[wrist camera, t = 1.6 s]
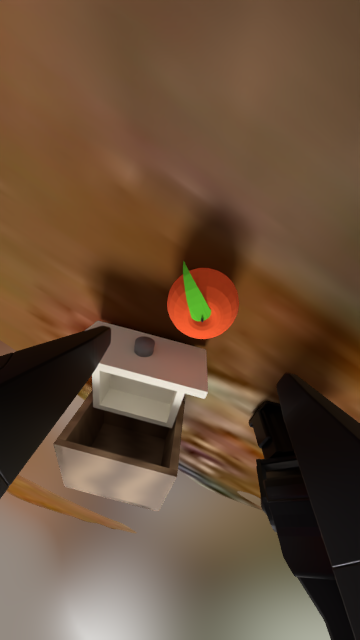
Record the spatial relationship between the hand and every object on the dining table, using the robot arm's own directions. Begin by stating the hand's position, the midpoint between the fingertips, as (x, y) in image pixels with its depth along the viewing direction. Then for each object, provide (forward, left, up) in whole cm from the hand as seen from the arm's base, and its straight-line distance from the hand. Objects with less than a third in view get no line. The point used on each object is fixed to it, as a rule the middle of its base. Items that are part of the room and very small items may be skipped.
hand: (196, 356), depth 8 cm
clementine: (0, 0, -12) cm, 12 cm away
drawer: (+4, +13, -11) cm, 18 cm away
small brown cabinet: (+4, +26, -12) cm, 29 cm away
